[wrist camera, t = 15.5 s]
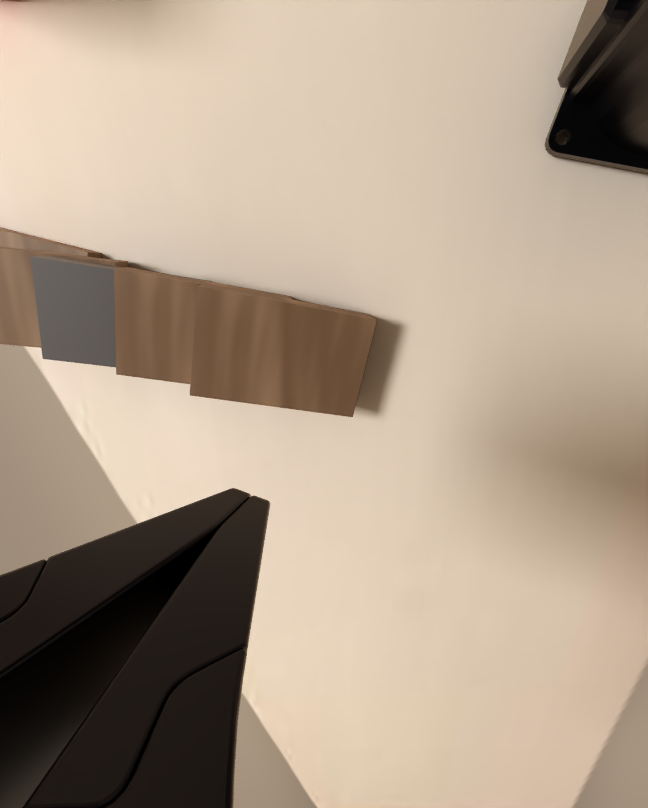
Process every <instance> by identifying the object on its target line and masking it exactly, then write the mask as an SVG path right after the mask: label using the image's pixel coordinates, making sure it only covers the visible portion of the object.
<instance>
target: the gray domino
mask: <svg viewBox="0 0 648 808" xmlns="http://www.w3.org/2000/svg"><path fill="white" fill-rule="evenodd" d="M30 257H31V265H32V273H33V281H34V290H35V298H36V306H37V314H38V322H39V331H40V339H41V347H42V355H43V359H50V360H58V361H67V362H75V363H84V364H92V365H101V366H110V367H116V332H115V291H114V269H116V268H123V267H116V266H110V265H104V264H97V263H91V262H84V261H78V260H72V259H65V258H59V257H53V256H30ZM186 278H187V277H186ZM191 279H193V278H191ZM197 280H199V279H197ZM202 281H206V280H202ZM208 282H211V281H208Z"/></svg>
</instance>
